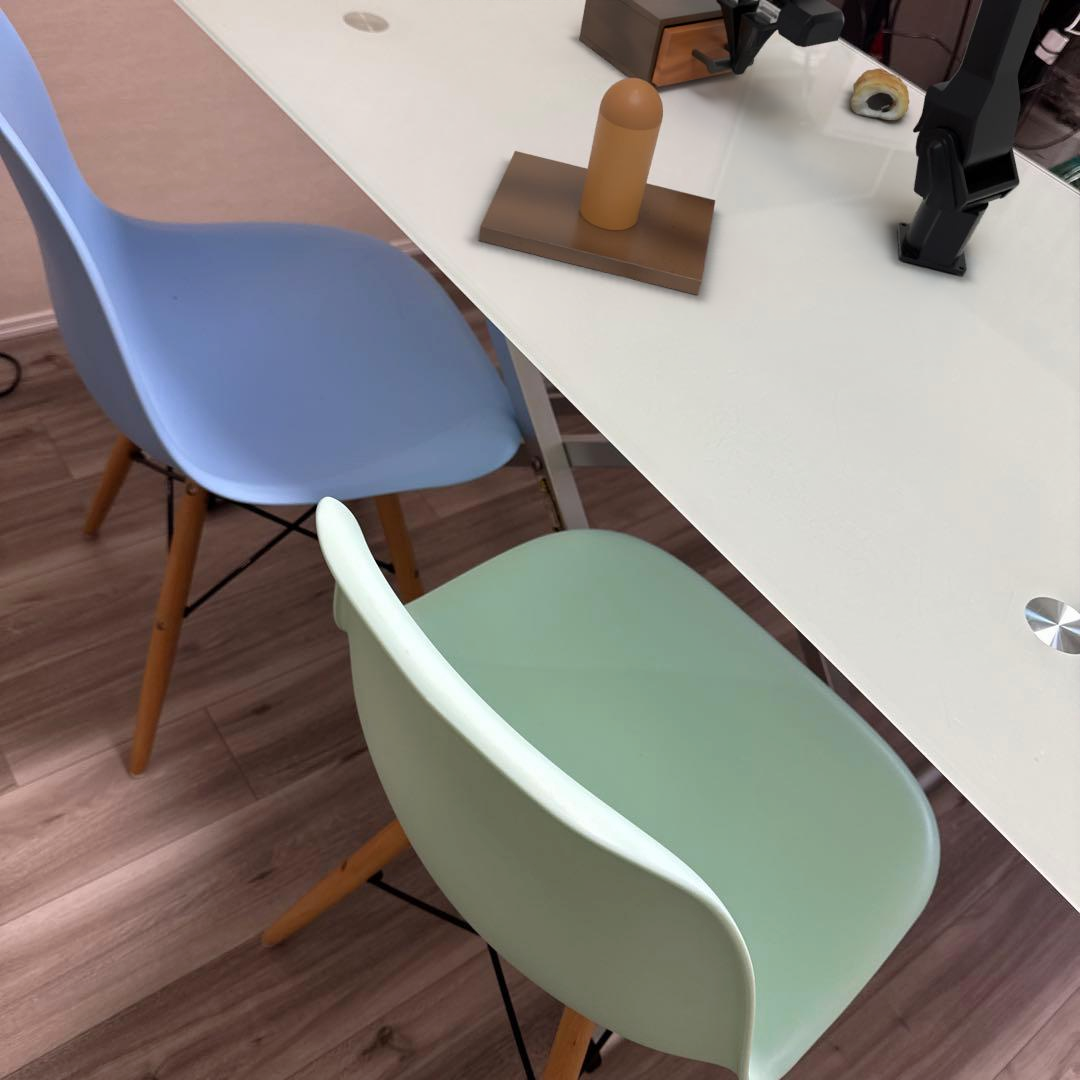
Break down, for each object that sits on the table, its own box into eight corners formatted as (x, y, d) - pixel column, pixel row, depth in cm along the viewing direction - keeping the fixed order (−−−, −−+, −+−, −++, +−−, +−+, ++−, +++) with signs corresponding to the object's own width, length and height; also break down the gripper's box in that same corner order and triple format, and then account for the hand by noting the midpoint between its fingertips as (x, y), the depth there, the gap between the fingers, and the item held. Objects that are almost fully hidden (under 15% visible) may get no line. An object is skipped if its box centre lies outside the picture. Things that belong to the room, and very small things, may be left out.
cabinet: (736, 70, 117) (756, 4, 112) (644, 89, 111) (660, 19, 105) (670, 24, 123) (685, -41, 117) (578, 39, 116) (590, -29, 111)
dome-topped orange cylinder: (648, 217, 91) (682, 86, 81) (612, 237, 88) (643, 104, 78) (604, 191, 93) (632, 60, 83) (567, 209, 90) (592, 76, 80)
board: (697, 295, 87) (702, 281, 85) (478, 240, 87) (480, 225, 86) (711, 213, 96) (715, 199, 95) (512, 164, 96) (514, 150, 95)
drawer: (767, 86, 114) (784, 34, 109) (682, 104, 108) (696, 51, 103) (681, 26, 121) (693, -24, 117) (596, 40, 115) (606, -12, 110)
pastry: (850, 79, 120) (863, 48, 118) (904, 94, 120) (918, 63, 117) (846, 112, 114) (860, 80, 111) (903, 128, 114) (917, 96, 111)
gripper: (907, -53, 96) (846, 102, 108) (777, -125, 104) (733, 26, 116) (831, -43, 91) (775, 119, 103) (701, -119, 99) (663, 39, 111)
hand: (737, 73), depth 108 cm, fingers closed
